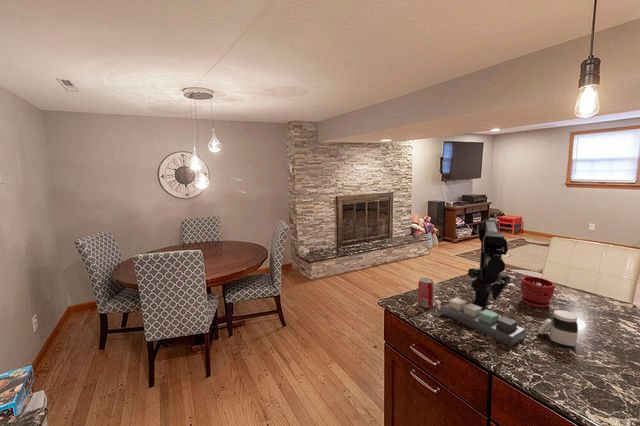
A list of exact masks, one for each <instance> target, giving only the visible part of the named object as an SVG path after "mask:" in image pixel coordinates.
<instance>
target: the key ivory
mask: <svg viewBox="0 0 640 426" xmlns="http://www.w3.org/2000/svg"><path fill="white" fill-rule="evenodd" d="M449 303H450V306H449V307H451V308H453V309H455V310H458V311H462V310H464V306H466V305H468V304H467V301H466V300H464V299H460V298H459V297H454V298H452V299H449Z"/></svg>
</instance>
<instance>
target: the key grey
mask: <svg viewBox="0 0 640 426" xmlns="http://www.w3.org/2000/svg"><path fill="white" fill-rule="evenodd" d="M482 311H483V306H482V307H481V306H478V305H477V304H474V303H471V302H470V303H469V304H466V306H464V313H465V314H467V315H469V316H472V317H474V318H476V317H479V316H480V312H482Z"/></svg>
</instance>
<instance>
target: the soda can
mask: <svg viewBox="0 0 640 426" xmlns="http://www.w3.org/2000/svg"><path fill="white" fill-rule="evenodd" d="M417 286H418V287H417V289H418V291H417V292H418V293H417V304H418V305H419V307H421V308H424V309H431V308H432V307H434V293H435V292H434V289H435V287H434V286H435V284H434V280H433V279H431V278H429V277H428V278H427V277H422V278H419V281H418V285H417Z"/></svg>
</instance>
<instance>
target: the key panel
mask: <svg viewBox="0 0 640 426" xmlns="http://www.w3.org/2000/svg"><path fill="white" fill-rule="evenodd" d="M449 306H450V302H449V303H447V304H444V305H442V306H441V315H442V316H445V317H447V318H449V319H451V320H454V321H456V323H457V322H458V323H459V324H462V325H464V326H465V327H466V326H467V327H468V328H470V329H473V330H475V331H477V332H479V333H481V334H483V335H486V336H487V337H490V338H492V339H493V340H496V341H497V342H498V341H499V342H501V343H503V344H505V345H507V346H509V347H510V348H511V347H513V346H515V345H516V344H518V343H520V342H522V341H523V340H525V338H526V337H525V336H526V329H525V328H523V327H521V326H519V325H517V330H516V331H514V332H512V333H509V332H506V331H504V330H502V329H499V328H497V323H496V324H494V325H490V324H488V323H486V322H483V321H481V320H479V317H480V316H479V317H476V318H474V317H472V316H469V315H467V314H465V313H464V310H462V311H458V310H455V309H453V308H451V307H449ZM499 318H500V317H498V319H499Z"/></svg>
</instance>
